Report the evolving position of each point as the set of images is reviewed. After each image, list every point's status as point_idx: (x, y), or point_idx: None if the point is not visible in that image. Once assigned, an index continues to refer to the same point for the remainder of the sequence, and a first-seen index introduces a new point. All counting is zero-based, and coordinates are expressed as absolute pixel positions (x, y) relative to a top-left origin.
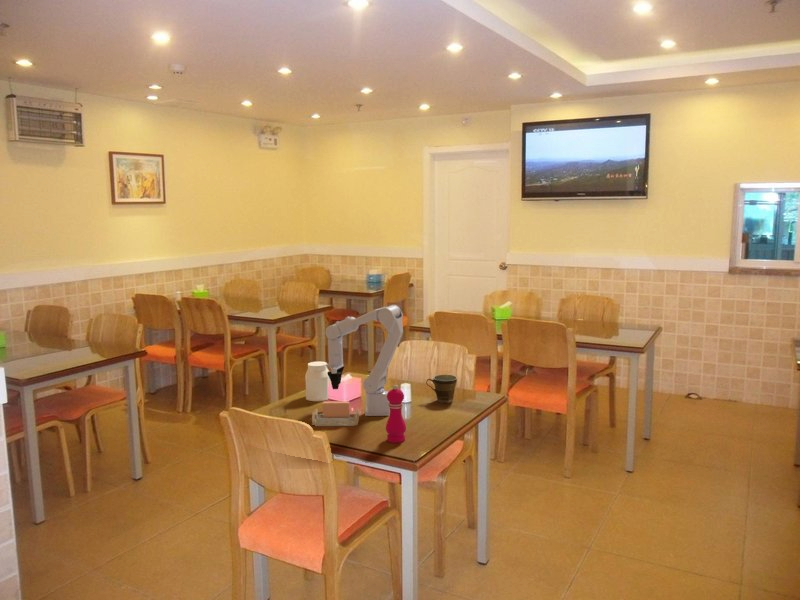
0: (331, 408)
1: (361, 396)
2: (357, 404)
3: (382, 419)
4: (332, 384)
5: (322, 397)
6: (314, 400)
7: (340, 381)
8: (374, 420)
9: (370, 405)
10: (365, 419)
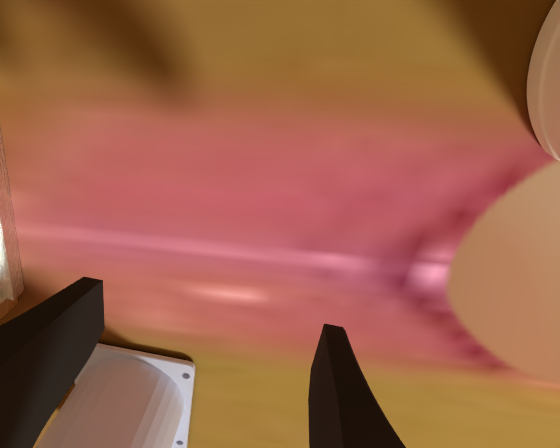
0: None
1: (508, 378)
2: None
3: None
4: (37, 316)
5: (542, 102)
6: (554, 6)
7: (309, 399)
8: None
9: (56, 416)
10: None
